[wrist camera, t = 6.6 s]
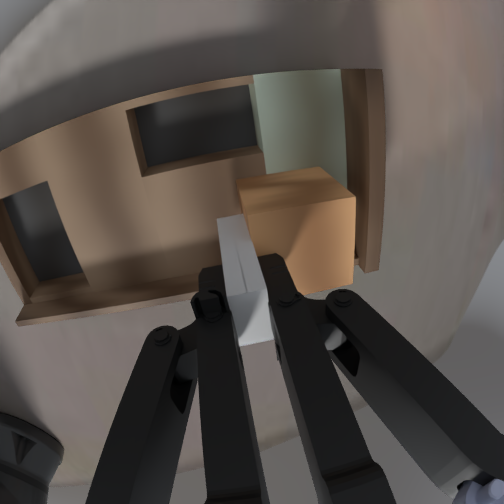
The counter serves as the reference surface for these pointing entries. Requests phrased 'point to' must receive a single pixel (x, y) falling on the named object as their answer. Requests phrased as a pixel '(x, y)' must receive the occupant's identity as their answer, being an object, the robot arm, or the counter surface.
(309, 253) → the block
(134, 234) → the tray
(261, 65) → the counter surface
